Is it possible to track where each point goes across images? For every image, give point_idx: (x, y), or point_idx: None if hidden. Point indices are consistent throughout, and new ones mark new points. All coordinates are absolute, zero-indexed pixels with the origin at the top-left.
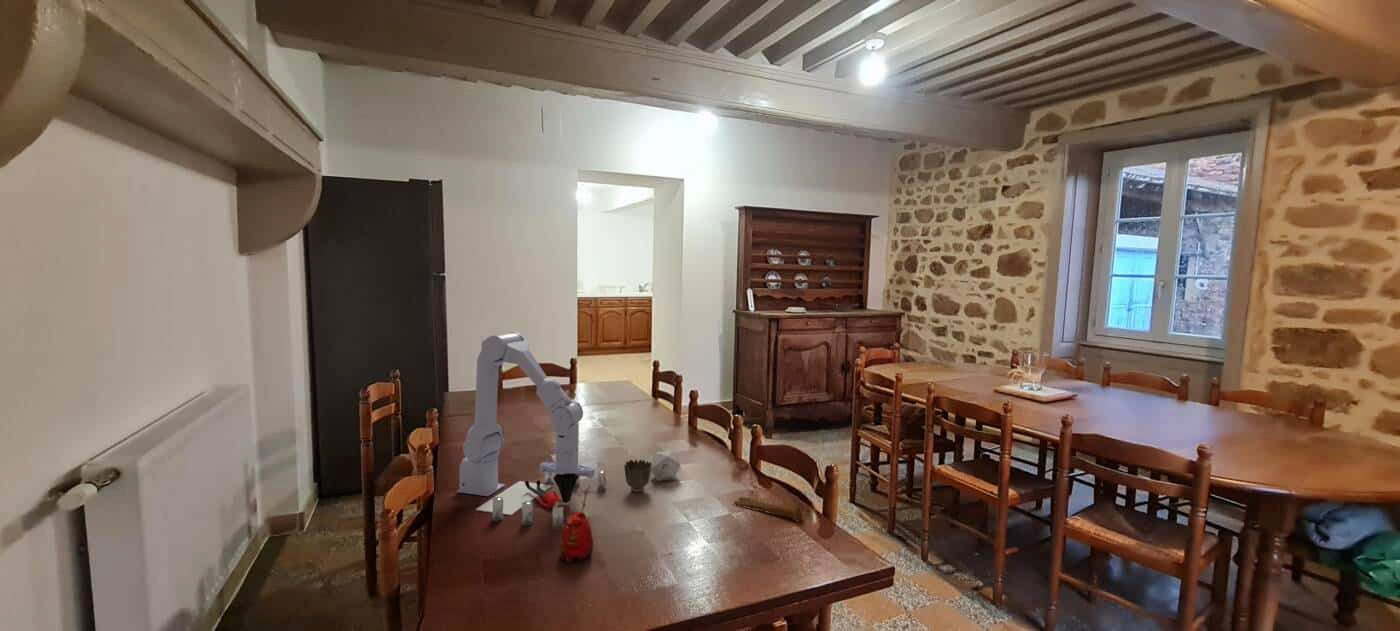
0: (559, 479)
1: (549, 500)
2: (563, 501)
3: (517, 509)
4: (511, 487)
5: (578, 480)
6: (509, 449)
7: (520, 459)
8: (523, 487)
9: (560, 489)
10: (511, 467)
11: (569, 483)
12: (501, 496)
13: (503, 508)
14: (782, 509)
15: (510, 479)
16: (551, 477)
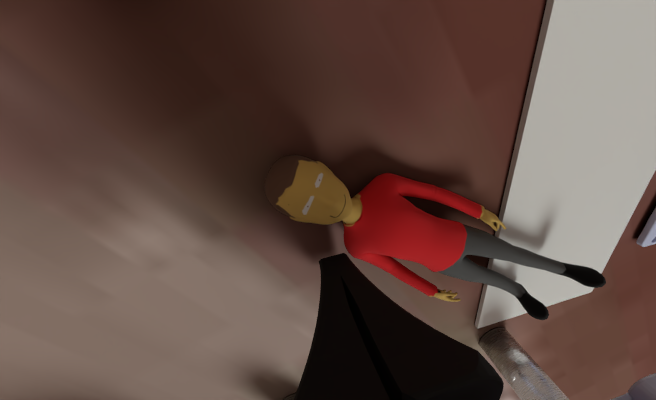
0: (423, 388)
1: (405, 209)
2: (340, 257)
3: (539, 76)
4: (611, 245)
5: None
6: (641, 376)
7: (609, 366)
8: None
9: (381, 303)
10: (626, 331)
11: (304, 391)
12: (640, 164)
13: (615, 49)
14: None
15: (619, 285)
16: (501, 358)
